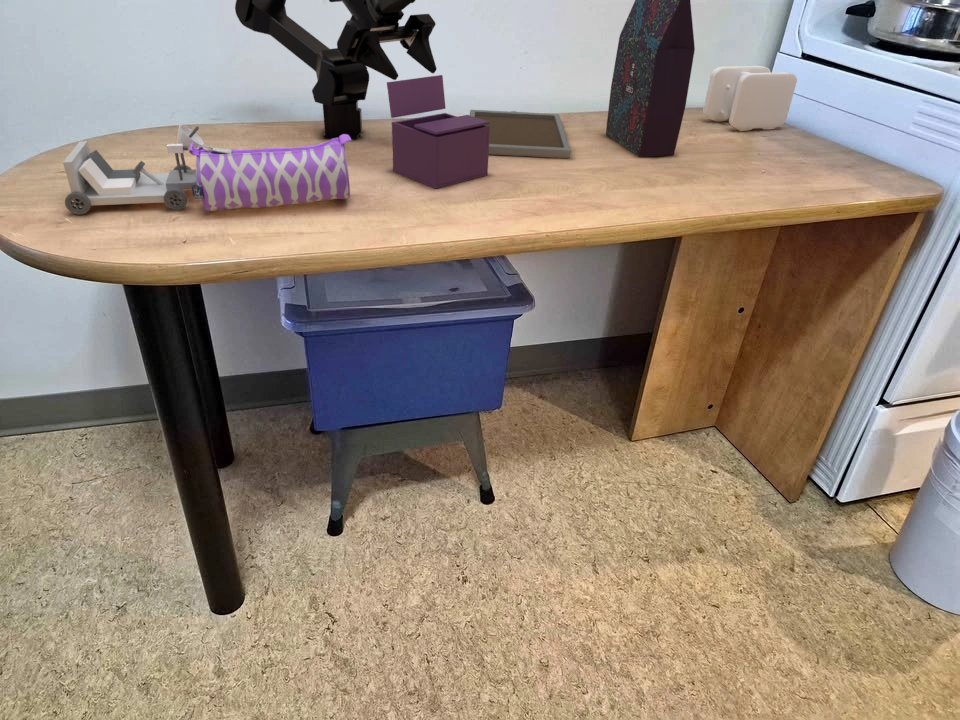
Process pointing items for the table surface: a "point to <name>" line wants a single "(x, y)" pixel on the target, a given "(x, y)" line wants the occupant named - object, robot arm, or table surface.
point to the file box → (441, 149)
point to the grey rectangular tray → (525, 133)
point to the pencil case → (270, 175)
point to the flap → (416, 96)
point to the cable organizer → (749, 96)
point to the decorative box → (651, 77)
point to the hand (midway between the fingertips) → (416, 74)
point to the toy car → (128, 178)
